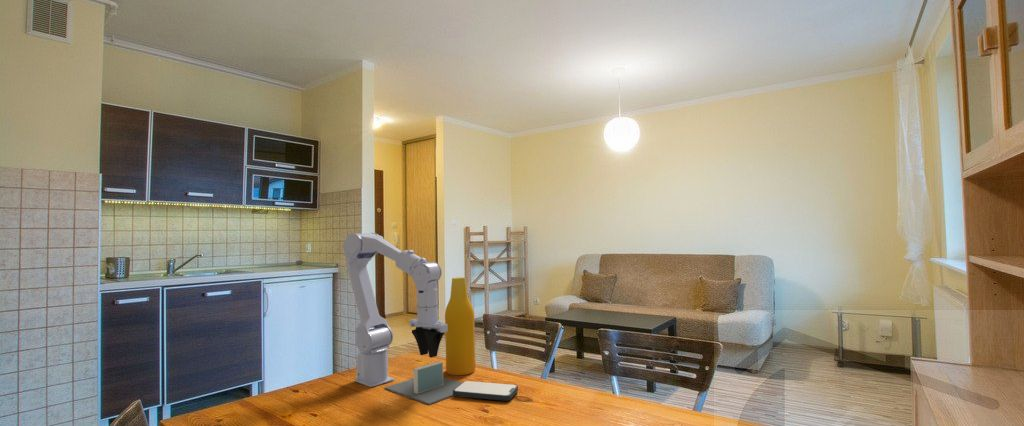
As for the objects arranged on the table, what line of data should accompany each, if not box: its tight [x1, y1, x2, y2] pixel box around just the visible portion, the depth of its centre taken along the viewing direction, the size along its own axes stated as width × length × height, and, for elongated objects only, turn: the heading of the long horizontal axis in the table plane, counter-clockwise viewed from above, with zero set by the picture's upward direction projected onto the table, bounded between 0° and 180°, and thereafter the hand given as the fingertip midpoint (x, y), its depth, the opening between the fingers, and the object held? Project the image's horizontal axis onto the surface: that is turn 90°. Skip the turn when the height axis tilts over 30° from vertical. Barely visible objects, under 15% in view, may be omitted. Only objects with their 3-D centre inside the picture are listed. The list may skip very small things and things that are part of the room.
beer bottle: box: [444, 276, 477, 376], centre depth 144 cm, size 9×9×29 cm
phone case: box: [453, 380, 519, 402], centre depth 122 cm, size 9×2×16 cm
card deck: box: [413, 360, 444, 394], centre depth 126 cm, size 2×9×6 cm, turn 138°
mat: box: [384, 376, 463, 406], centre depth 128 cm, size 20×16×1 cm
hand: (428, 355), depth 127 cm, fingers open, 3 cm apart
